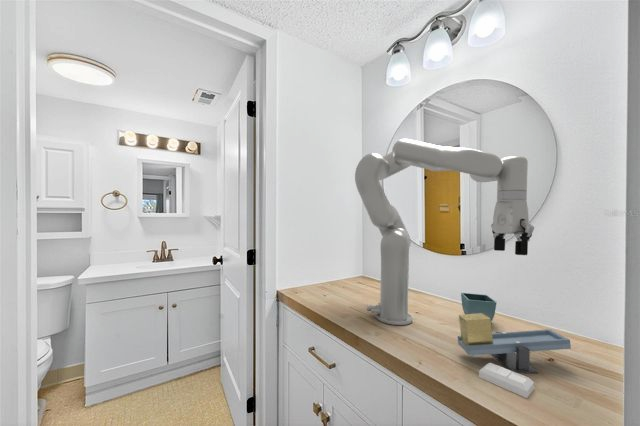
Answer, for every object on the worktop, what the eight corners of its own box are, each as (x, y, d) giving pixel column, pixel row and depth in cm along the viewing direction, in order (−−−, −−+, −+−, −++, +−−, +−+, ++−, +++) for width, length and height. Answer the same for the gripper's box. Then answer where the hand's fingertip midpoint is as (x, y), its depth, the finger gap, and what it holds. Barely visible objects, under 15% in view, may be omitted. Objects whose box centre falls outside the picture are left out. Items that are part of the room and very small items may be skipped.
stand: (511, 372, 64) (512, 349, 64) (487, 351, 74) (488, 331, 74) (538, 373, 64) (538, 350, 64) (510, 352, 74) (510, 332, 74)
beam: (470, 356, 66) (469, 347, 66) (457, 343, 73) (456, 334, 73) (572, 349, 65) (571, 340, 65) (549, 336, 72) (548, 328, 72)
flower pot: (496, 329, 89) (497, 302, 90) (467, 326, 91) (468, 299, 91) (486, 319, 98) (486, 294, 98) (459, 316, 100) (460, 292, 100)
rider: (468, 348, 68) (465, 320, 68) (461, 341, 71) (458, 314, 72) (493, 346, 67) (490, 318, 68) (484, 339, 71) (482, 313, 71)
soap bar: (487, 371, 65) (487, 360, 65) (533, 390, 58) (533, 378, 58) (478, 378, 62) (479, 367, 62) (527, 400, 55) (527, 387, 55)
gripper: (482, 198, 92) (481, 248, 92) (519, 194, 75) (517, 256, 75) (504, 199, 92) (503, 249, 92) (546, 195, 75) (544, 257, 75)
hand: (509, 252), depth 84 cm, fingers open, 9 cm apart
